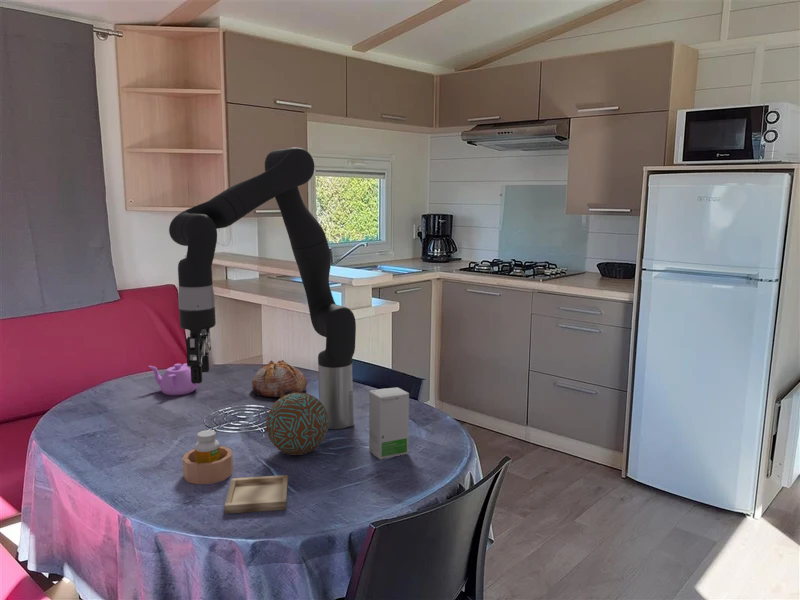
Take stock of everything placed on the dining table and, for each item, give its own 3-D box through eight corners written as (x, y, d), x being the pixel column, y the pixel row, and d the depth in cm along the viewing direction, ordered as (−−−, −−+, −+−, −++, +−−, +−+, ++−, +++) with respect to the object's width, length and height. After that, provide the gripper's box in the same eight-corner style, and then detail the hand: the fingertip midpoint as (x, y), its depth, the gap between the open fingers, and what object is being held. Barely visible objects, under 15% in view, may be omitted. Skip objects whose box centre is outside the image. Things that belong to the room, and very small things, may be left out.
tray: (288, 482, 138) (287, 474, 138) (286, 509, 127) (285, 501, 126) (232, 486, 137) (231, 478, 136) (224, 513, 125) (224, 505, 125)
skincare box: (379, 460, 149) (378, 398, 147) (367, 450, 155) (367, 390, 152) (410, 454, 153) (410, 392, 151) (397, 444, 159) (397, 385, 156)
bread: (281, 381, 214) (282, 353, 213) (318, 394, 201) (318, 364, 200) (239, 389, 203) (240, 359, 201) (275, 403, 189) (275, 371, 188)
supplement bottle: (213, 480, 139) (211, 438, 138) (191, 477, 140) (189, 436, 139) (225, 469, 145) (223, 429, 143) (203, 467, 146) (201, 427, 144)
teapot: (206, 391, 201) (205, 364, 199) (163, 400, 192) (161, 372, 191) (192, 382, 210) (190, 356, 208) (150, 390, 201) (148, 364, 200)
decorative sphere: (339, 456, 152) (338, 397, 149) (281, 471, 144) (278, 408, 141) (313, 436, 164) (312, 381, 162) (258, 448, 156) (256, 390, 154)
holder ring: (235, 462, 148) (234, 444, 148) (229, 482, 138) (228, 463, 137) (189, 465, 147) (188, 446, 146) (180, 485, 137) (178, 466, 136)
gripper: (208, 311, 130) (212, 386, 133) (219, 299, 144) (222, 368, 147) (171, 312, 129) (175, 387, 132) (186, 300, 143) (189, 369, 146)
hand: (200, 377), depth 140 cm, fingers open, 8 cm apart
